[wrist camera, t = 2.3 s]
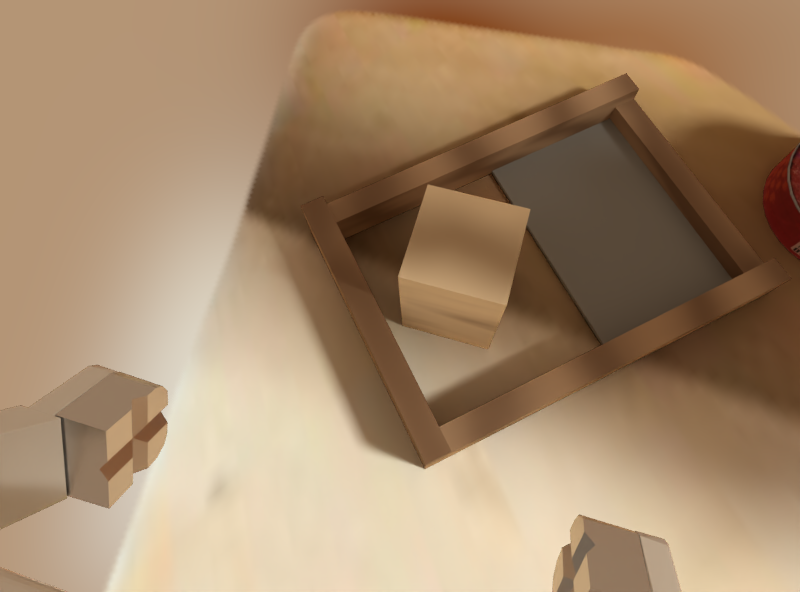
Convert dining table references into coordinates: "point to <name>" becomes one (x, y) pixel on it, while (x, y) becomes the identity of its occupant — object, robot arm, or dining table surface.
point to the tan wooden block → (460, 265)
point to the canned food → (785, 201)
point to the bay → (565, 248)
